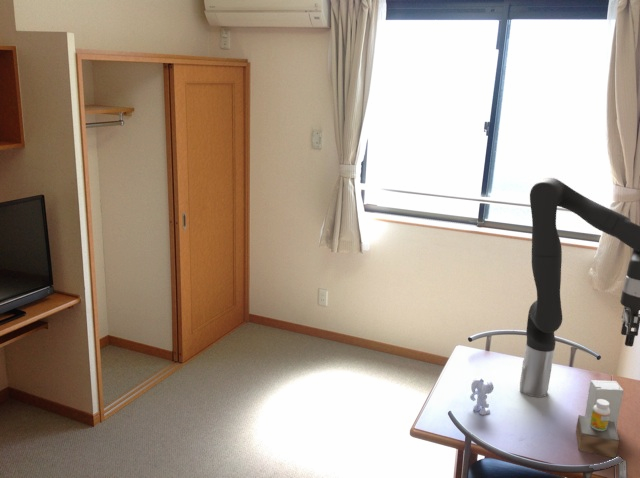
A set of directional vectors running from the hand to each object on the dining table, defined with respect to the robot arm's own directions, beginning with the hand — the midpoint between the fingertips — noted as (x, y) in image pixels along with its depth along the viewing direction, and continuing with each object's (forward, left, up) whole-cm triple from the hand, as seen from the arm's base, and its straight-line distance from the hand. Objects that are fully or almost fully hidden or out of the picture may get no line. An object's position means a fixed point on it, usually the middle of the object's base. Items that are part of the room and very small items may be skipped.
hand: (626, 340), depth 185 cm
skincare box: (-4, -5, -29) cm, 29 cm away
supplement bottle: (-6, -16, -23) cm, 29 cm away
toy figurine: (-40, -10, -29) cm, 51 cm away
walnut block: (-6, -16, -28) cm, 33 cm away
